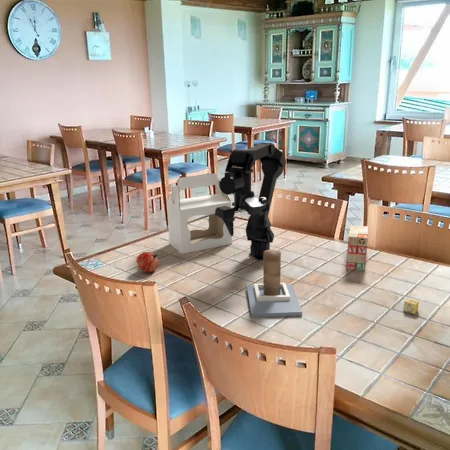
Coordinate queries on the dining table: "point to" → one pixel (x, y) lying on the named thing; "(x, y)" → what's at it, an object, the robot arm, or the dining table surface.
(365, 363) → the dining table surface
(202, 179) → the gable box
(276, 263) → the walnut column
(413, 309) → the alphabet block
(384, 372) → the dining table surface
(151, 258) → the pomegranate
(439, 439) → the dining table surface
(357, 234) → the stack of blocks
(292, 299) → the baseplate
